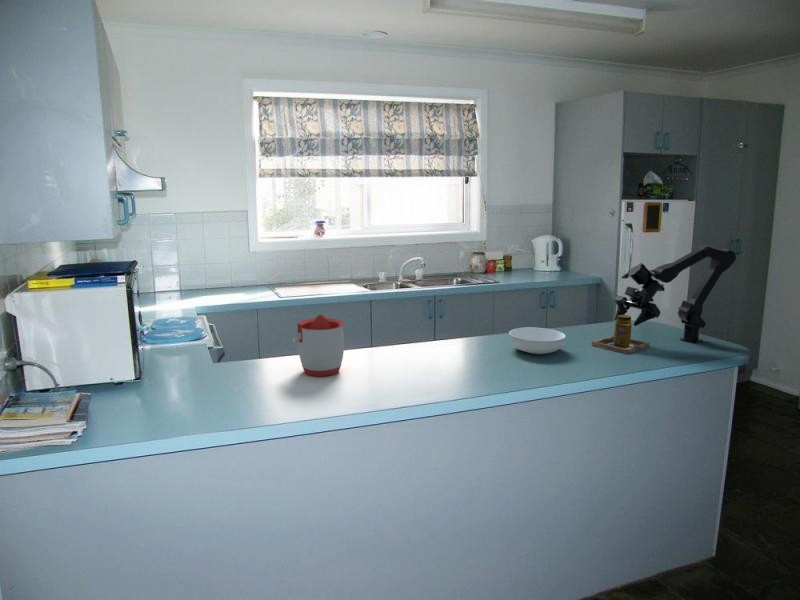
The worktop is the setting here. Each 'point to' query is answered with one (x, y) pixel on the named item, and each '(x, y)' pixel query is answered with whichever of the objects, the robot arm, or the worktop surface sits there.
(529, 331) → the serving bowl
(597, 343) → the walnut frame
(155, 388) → the worktop surface
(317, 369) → the citrus juicer
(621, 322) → the condiment
